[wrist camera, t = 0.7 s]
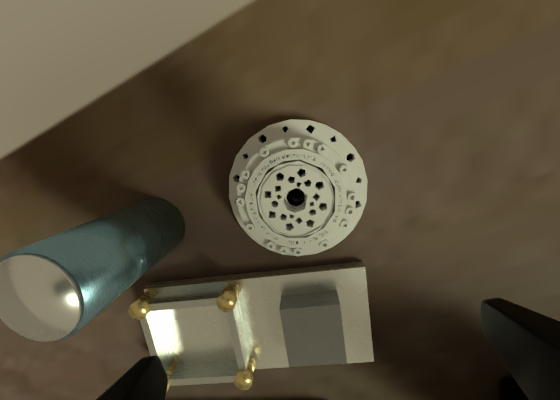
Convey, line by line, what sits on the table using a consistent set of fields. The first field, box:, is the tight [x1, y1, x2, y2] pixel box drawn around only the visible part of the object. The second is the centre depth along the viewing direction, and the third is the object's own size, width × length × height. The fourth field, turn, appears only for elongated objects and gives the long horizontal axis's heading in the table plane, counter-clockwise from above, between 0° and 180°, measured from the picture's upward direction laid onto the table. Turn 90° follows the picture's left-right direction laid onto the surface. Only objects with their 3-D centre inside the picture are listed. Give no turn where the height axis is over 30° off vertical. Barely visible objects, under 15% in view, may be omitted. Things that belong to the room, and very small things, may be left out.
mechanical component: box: [229, 119, 367, 256], centre depth 19 cm, size 10×4×10 cm
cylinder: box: [0, 198, 185, 341], centre depth 17 cm, size 5×5×10 cm
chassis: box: [128, 261, 374, 393], centre depth 22 cm, size 8×18×3 cm, turn 99°
